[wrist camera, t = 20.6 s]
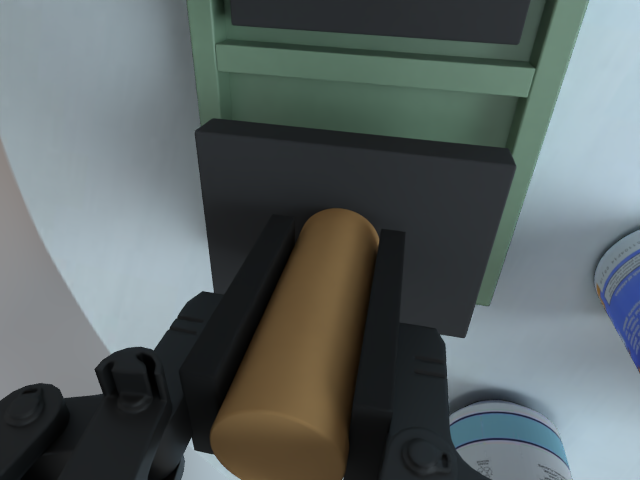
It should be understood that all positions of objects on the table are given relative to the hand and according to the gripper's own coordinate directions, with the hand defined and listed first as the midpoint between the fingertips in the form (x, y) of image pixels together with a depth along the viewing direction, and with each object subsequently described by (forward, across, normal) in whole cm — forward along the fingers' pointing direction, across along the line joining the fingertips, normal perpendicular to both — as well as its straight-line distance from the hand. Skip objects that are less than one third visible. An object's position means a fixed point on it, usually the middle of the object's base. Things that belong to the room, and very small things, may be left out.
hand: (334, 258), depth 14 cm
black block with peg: (+3, 0, 0) cm, 3 cm away
